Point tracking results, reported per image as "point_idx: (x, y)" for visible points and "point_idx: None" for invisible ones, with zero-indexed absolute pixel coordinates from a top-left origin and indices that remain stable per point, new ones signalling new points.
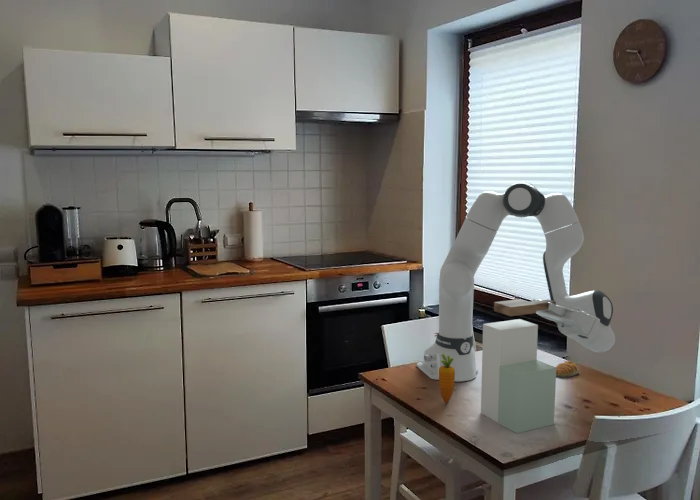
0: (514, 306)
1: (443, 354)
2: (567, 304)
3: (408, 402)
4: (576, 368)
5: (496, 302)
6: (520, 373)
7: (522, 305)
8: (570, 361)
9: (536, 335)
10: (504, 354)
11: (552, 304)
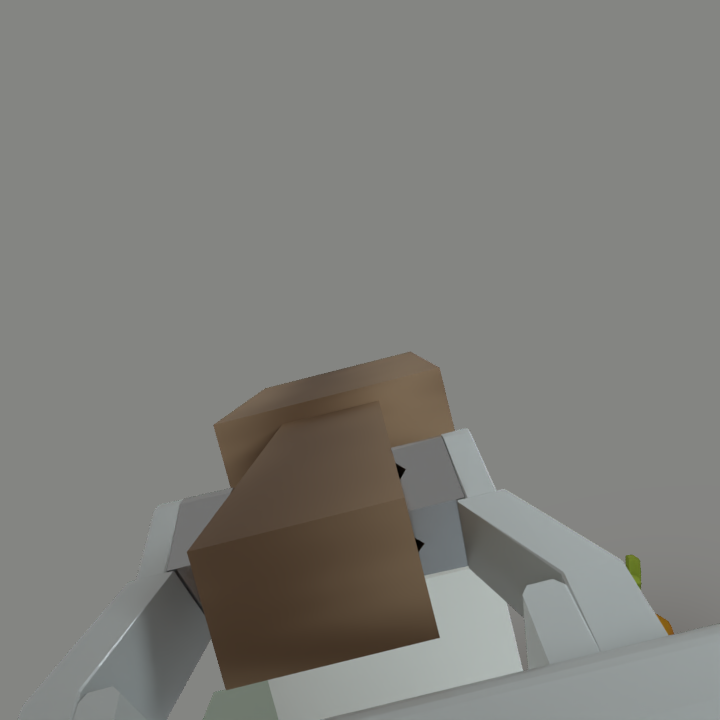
0: (265, 391)
1: (627, 557)
2: None
3: None
4: None
5: (396, 355)
6: (216, 705)
7: (253, 399)
8: None
9: (278, 703)
10: None
11: (162, 527)
